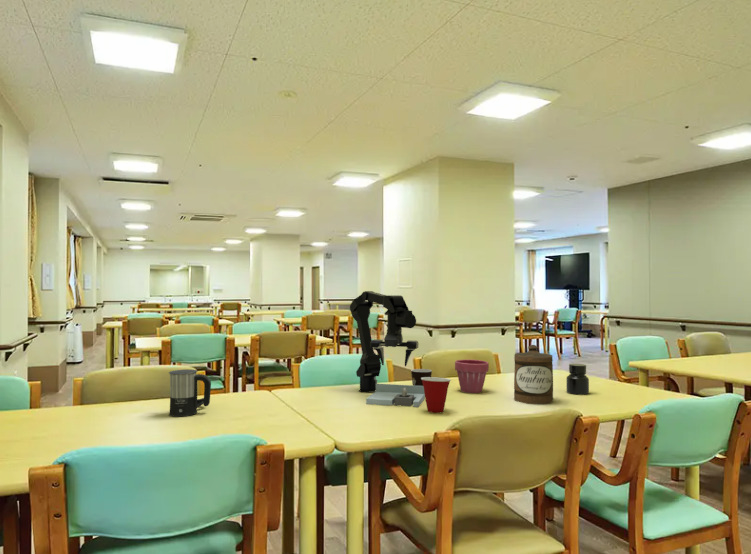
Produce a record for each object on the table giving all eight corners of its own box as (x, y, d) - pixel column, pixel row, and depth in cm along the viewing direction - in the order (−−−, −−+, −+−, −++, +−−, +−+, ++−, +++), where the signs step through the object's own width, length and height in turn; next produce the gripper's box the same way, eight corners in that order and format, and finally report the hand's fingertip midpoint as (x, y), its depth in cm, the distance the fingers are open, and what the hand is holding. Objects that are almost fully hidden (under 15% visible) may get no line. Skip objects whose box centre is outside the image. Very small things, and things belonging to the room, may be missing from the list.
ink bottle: (594, 393, 225) (594, 365, 226) (581, 396, 220) (581, 367, 221) (574, 390, 233) (574, 362, 234) (561, 392, 228) (561, 364, 229)
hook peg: (401, 404, 202) (401, 388, 202) (402, 403, 204) (402, 387, 204) (406, 404, 201) (406, 388, 201) (407, 403, 203) (407, 387, 203)
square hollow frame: (394, 405, 200) (394, 397, 200) (397, 401, 206) (397, 394, 206) (411, 406, 198) (411, 398, 198) (414, 402, 205) (414, 395, 205)
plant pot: (493, 390, 231) (493, 360, 231) (481, 395, 219) (481, 364, 219) (462, 386, 239) (462, 358, 239) (449, 392, 227) (449, 361, 227)
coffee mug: (432, 396, 216) (432, 372, 216) (411, 396, 216) (411, 372, 216) (430, 391, 228) (430, 367, 228) (410, 391, 228) (410, 367, 228)
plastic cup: (454, 409, 194) (454, 376, 194) (445, 415, 184) (445, 381, 184) (426, 406, 199) (426, 374, 199) (416, 412, 189) (416, 378, 189)
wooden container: (515, 403, 205) (516, 346, 205) (512, 395, 220) (512, 342, 220) (556, 405, 203) (556, 347, 203) (549, 397, 217) (549, 343, 218)
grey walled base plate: (366, 404, 202) (366, 390, 202) (376, 395, 217) (376, 383, 217) (418, 407, 197) (418, 393, 197) (424, 398, 212) (425, 386, 213)
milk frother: (169, 418, 178) (170, 373, 178) (164, 408, 192) (165, 367, 192) (213, 414, 184) (214, 371, 185) (205, 405, 198) (206, 365, 199)
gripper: (366, 327, 208) (366, 367, 207) (414, 328, 203) (413, 369, 203) (373, 325, 218) (373, 363, 218) (418, 326, 214) (418, 365, 213)
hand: (394, 365), depth 213 cm, fingers open, 9 cm apart
